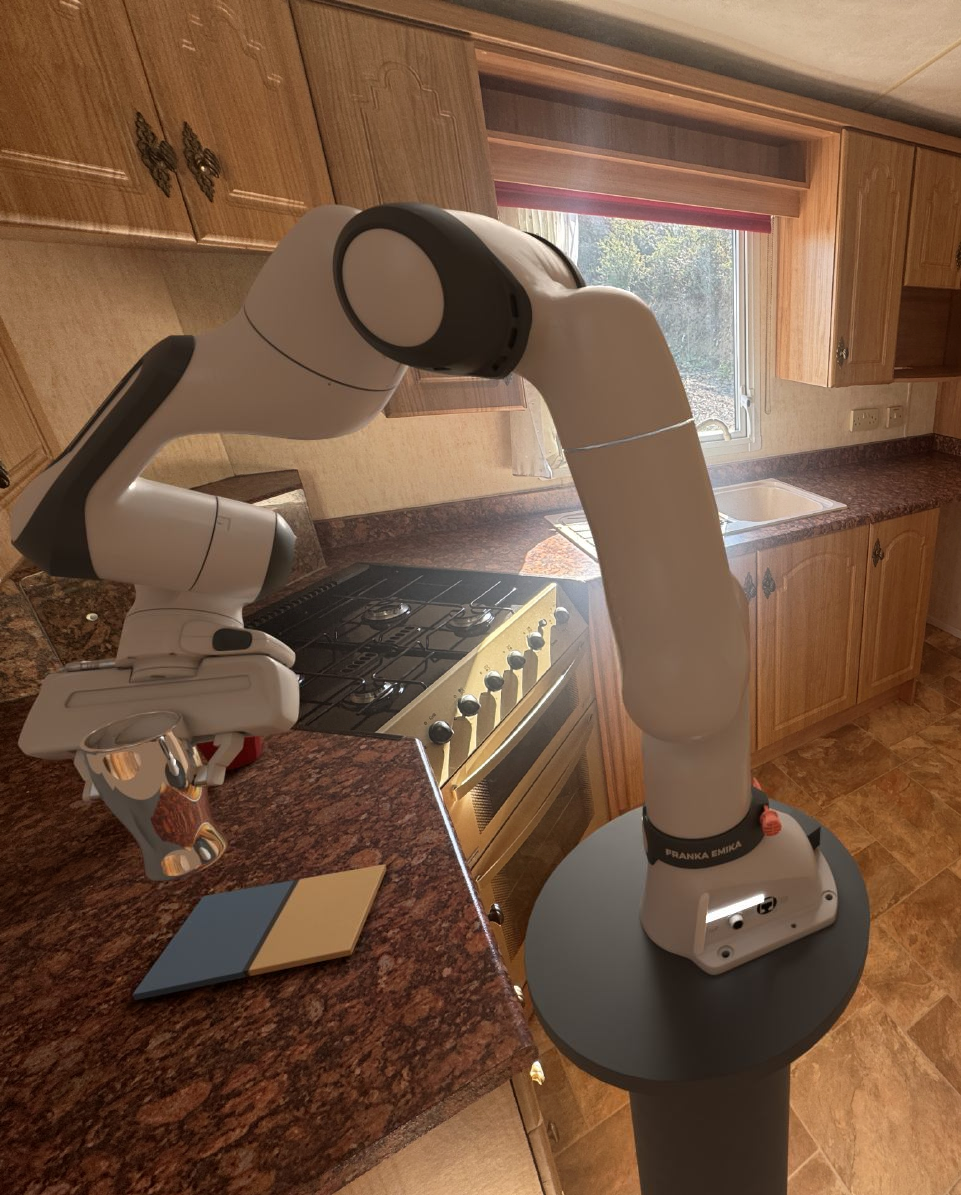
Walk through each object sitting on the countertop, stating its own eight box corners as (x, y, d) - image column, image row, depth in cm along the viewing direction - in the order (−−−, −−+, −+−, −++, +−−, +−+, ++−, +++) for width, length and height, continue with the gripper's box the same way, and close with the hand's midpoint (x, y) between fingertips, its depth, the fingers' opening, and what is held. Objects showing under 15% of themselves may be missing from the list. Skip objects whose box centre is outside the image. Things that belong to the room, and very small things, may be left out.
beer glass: (246, 826, 66) (199, 703, 60) (217, 874, 60) (162, 743, 54) (161, 842, 63) (104, 715, 58) (122, 895, 57) (54, 759, 52)
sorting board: (386, 868, 75) (385, 863, 75) (351, 955, 64) (349, 949, 64) (205, 901, 70) (202, 895, 70) (134, 1000, 60) (131, 994, 59)
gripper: (20, 653, 57) (-25, 809, 52) (283, 631, 63) (266, 770, 58) (75, 673, 63) (39, 816, 58) (313, 652, 68) (299, 780, 63)
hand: (155, 793), depth 58 cm, fingers closed on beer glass, 7 cm apart
